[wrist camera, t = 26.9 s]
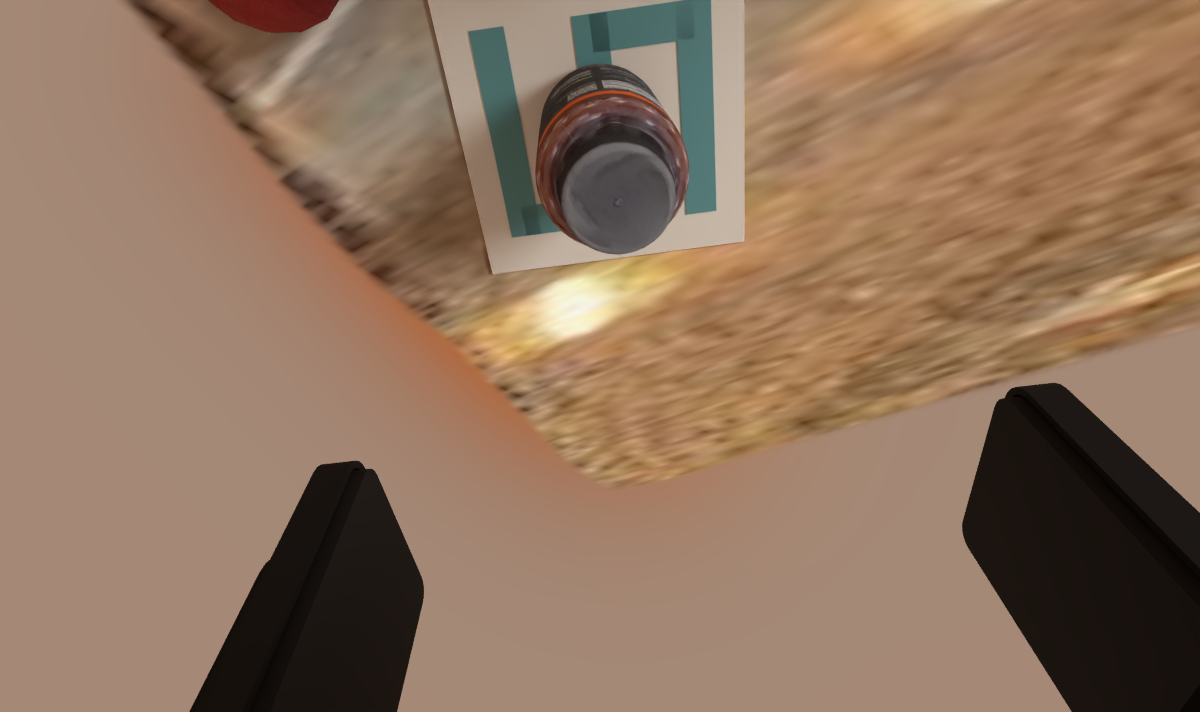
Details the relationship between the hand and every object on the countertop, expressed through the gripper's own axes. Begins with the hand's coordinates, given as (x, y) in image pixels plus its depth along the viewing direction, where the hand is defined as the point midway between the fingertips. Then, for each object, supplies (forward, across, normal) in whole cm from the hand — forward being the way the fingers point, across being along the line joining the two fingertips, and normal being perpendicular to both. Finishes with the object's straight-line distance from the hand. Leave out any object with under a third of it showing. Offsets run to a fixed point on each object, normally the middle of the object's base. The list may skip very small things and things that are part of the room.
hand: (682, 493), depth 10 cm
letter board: (+26, +1, +1) cm, 26 cm away
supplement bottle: (+25, +1, 0) cm, 25 cm away
